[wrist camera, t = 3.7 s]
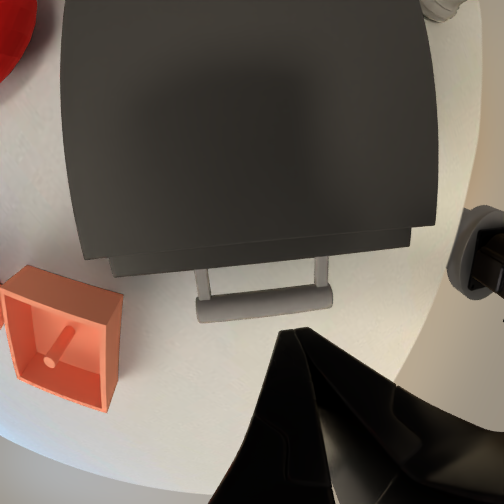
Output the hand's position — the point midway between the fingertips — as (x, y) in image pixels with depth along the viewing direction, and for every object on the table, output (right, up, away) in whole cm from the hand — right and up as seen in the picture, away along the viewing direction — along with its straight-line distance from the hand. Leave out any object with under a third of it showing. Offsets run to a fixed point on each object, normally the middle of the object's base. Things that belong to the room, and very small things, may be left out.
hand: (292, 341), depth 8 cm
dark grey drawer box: (-2, +13, +9) cm, 16 cm away
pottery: (-21, -3, +13) cm, 25 cm away
